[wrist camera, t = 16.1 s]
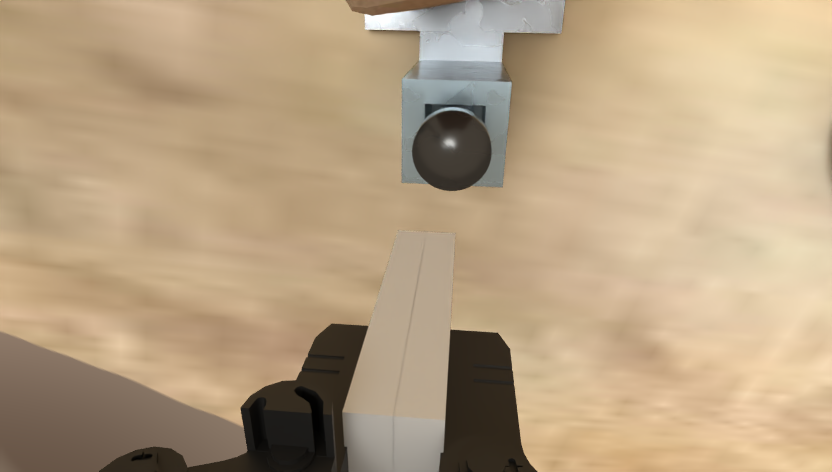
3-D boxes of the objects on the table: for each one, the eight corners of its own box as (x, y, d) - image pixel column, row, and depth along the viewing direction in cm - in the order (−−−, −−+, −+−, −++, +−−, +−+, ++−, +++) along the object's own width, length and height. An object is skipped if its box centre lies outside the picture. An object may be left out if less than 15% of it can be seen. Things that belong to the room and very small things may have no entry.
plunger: (426, 143, 36) (411, 189, 27) (427, 83, 34) (412, 111, 25) (484, 145, 35) (488, 192, 27) (488, 85, 34) (494, 114, 25)
